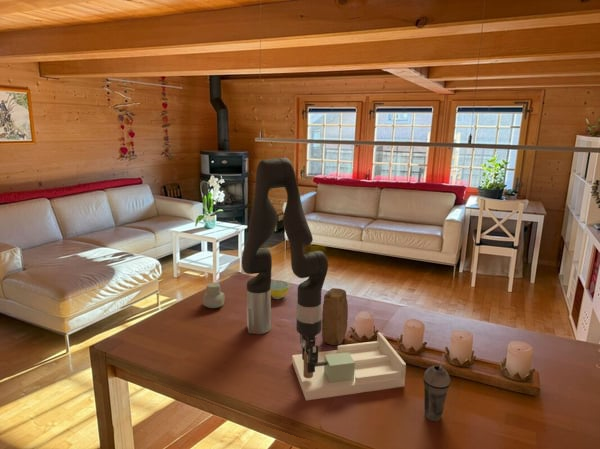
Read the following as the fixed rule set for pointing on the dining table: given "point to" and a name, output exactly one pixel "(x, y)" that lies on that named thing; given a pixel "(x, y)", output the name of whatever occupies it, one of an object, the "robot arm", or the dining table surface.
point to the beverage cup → (435, 391)
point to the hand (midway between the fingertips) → (308, 365)
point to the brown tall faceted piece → (334, 316)
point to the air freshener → (213, 296)
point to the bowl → (279, 289)
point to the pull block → (334, 367)
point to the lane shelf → (368, 370)
